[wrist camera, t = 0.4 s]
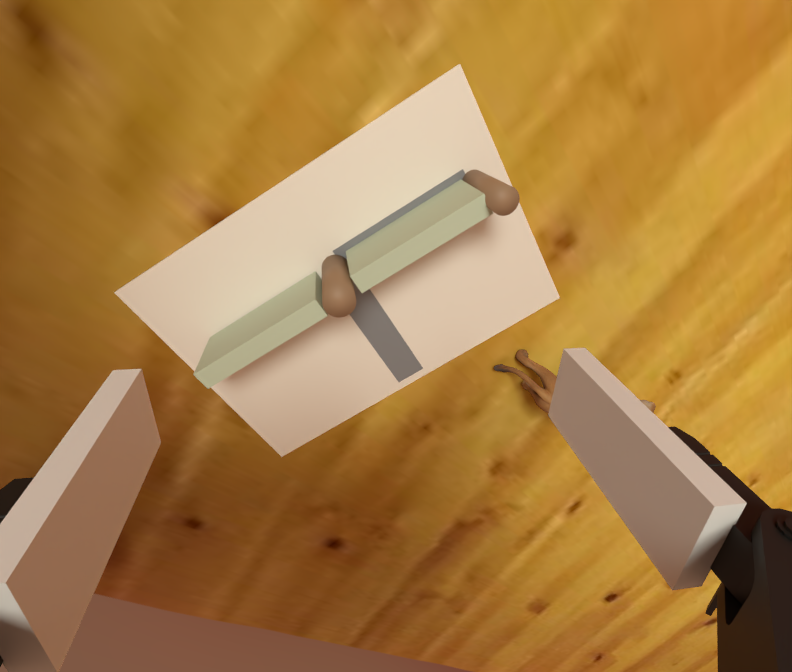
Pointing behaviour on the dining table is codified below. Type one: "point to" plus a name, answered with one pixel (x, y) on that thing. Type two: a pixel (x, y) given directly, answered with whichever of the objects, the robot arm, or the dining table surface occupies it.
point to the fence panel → (261, 330)
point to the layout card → (375, 308)
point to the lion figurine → (548, 379)
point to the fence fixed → (413, 237)
